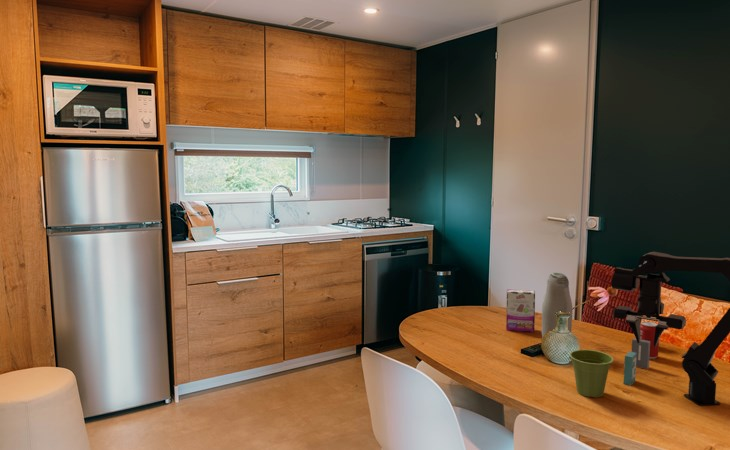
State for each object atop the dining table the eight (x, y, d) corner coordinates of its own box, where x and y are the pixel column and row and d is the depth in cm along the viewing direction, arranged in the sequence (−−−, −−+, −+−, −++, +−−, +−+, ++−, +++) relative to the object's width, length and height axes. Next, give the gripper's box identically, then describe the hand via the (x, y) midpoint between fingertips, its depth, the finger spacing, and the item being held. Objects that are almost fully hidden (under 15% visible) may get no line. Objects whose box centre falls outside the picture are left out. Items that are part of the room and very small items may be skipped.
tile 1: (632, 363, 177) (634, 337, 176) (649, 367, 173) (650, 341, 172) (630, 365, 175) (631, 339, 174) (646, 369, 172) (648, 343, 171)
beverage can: (660, 360, 179) (662, 327, 178) (640, 359, 180) (642, 325, 179) (654, 354, 185) (656, 321, 184) (635, 353, 186) (636, 320, 185)
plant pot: (575, 381, 162) (576, 346, 161) (616, 391, 155) (618, 355, 153) (562, 394, 153) (563, 357, 152) (605, 405, 146) (607, 367, 144)
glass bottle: (576, 350, 190) (579, 274, 187) (554, 354, 186) (556, 277, 183) (557, 341, 199) (559, 269, 196) (535, 345, 195) (537, 272, 192)
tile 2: (636, 380, 162) (637, 353, 161) (631, 385, 159) (632, 357, 158) (627, 378, 164) (629, 351, 163) (622, 383, 160) (624, 355, 159)
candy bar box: (534, 329, 214) (535, 290, 213) (534, 332, 210) (535, 293, 208) (506, 326, 218) (507, 288, 216) (505, 330, 213) (506, 291, 211)
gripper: (691, 294, 155) (688, 344, 157) (624, 284, 168) (622, 331, 169) (683, 301, 147) (679, 354, 149) (613, 291, 159) (610, 340, 161)
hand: (646, 344), depth 157 cm, fingers open, 4 cm apart
